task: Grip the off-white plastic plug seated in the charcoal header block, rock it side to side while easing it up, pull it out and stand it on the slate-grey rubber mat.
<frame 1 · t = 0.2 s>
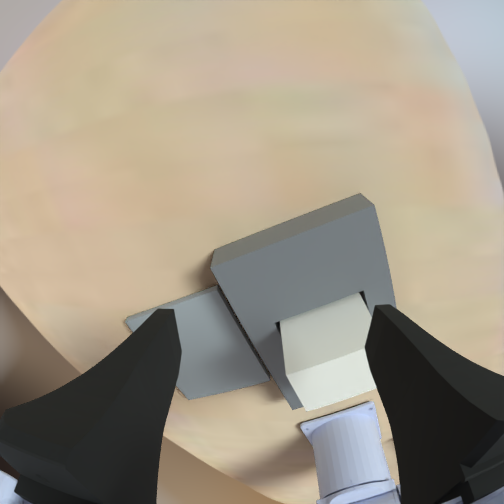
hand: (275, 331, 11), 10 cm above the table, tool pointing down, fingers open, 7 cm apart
plug: (331, 341, 19), in the header
mat: (200, 349, 24), on the table
header: (321, 310, 22), on the table
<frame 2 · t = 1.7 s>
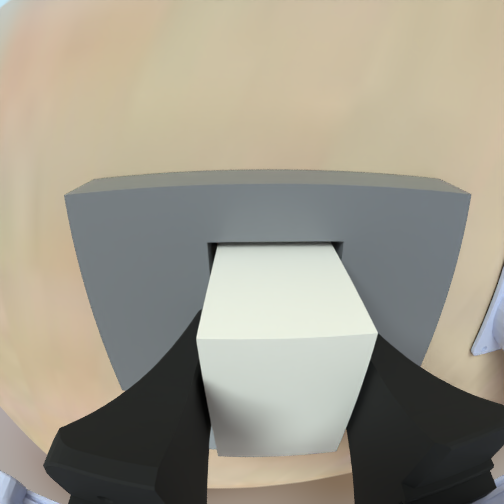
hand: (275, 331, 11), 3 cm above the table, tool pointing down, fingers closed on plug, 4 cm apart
plug: (276, 332, 11), in the header, touching gripper
header: (271, 282, 14), on the table
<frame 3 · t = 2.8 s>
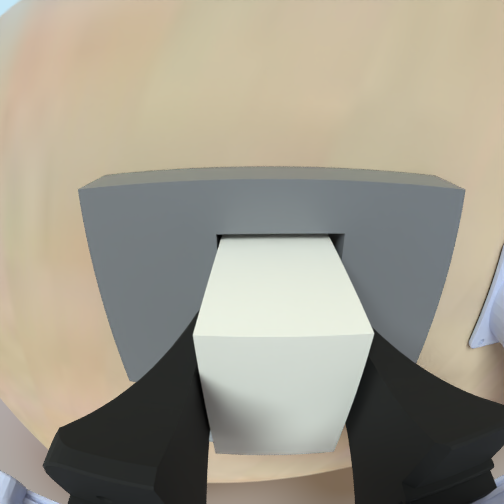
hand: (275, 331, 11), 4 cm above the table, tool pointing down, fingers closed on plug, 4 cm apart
plug: (276, 331, 11), in the header, point 4 cm above the table, touching gripper
header: (275, 274, 15), on the table
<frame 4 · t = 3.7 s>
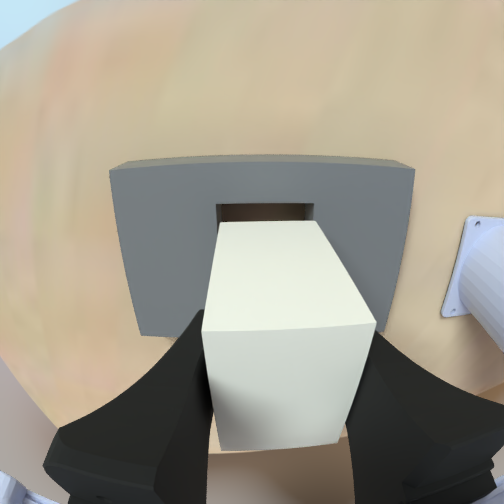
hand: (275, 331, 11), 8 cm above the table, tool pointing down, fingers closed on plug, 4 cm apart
plug: (274, 327, 11), point 8 cm above the table, touching gripper
header: (263, 242, 18), on the table
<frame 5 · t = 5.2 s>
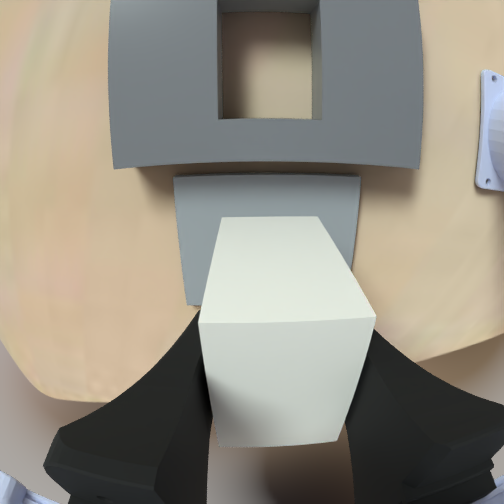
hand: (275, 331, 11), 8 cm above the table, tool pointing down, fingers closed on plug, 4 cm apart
plug: (275, 322, 11), point 8 cm above the table, touching gripper
mat: (267, 241, 18), on the table
header: (267, 62, 14), on the table
when the fingers open (5 cm above the table, at t = 6.0 s): plug drops 1 cm, resting on mat.
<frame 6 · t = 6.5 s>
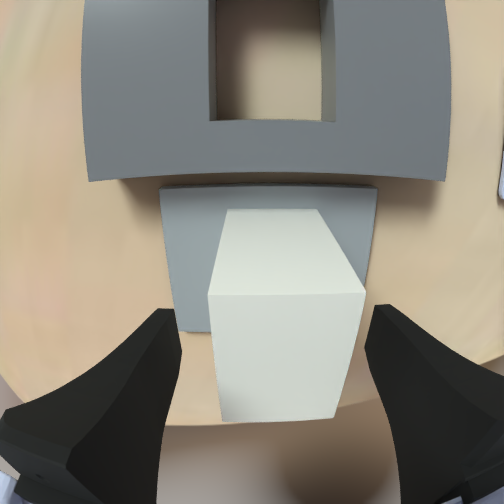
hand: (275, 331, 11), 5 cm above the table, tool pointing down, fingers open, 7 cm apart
plug: (276, 305, 12), on the mat, point 4 cm above the table
mat: (269, 262, 16), on the table
header: (269, 53, 12), on the table
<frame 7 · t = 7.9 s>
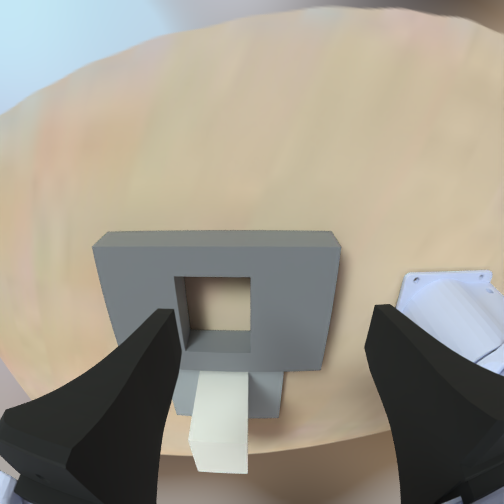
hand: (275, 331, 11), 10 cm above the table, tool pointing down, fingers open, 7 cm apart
plug: (223, 423, 22), on the mat, point 4 cm above the table
mat: (225, 388, 26), on the table
header: (218, 297, 22), on the table
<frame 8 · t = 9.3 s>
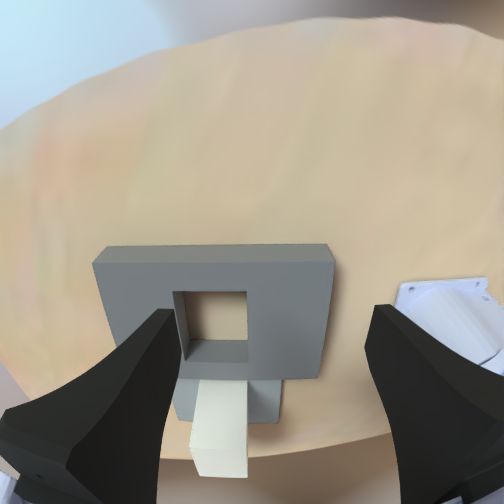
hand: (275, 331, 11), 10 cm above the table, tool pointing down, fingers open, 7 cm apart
plug: (223, 429, 23), on the mat, point 4 cm above the table
mat: (225, 395, 27), on the table
header: (216, 308, 22), on the table
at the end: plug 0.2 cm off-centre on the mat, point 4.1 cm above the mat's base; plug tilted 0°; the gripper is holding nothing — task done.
